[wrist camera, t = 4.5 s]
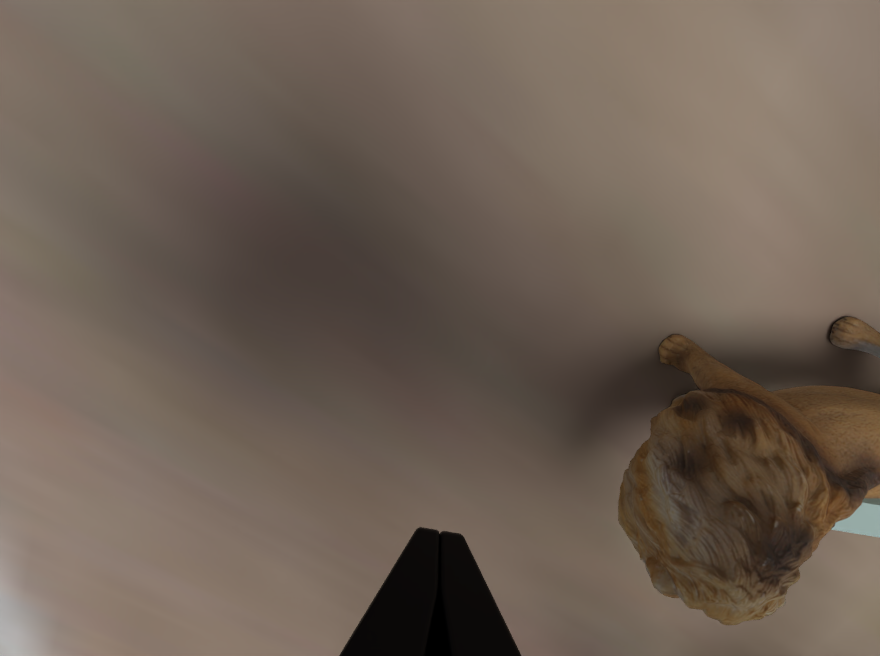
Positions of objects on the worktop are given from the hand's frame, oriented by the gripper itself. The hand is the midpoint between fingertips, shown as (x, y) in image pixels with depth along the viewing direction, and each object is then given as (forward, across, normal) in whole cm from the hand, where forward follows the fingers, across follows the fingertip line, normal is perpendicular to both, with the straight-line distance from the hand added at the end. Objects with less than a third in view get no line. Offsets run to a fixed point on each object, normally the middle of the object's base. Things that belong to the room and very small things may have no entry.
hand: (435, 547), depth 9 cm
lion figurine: (+11, -12, 0) cm, 16 cm away
